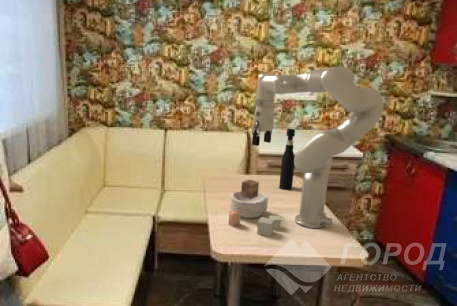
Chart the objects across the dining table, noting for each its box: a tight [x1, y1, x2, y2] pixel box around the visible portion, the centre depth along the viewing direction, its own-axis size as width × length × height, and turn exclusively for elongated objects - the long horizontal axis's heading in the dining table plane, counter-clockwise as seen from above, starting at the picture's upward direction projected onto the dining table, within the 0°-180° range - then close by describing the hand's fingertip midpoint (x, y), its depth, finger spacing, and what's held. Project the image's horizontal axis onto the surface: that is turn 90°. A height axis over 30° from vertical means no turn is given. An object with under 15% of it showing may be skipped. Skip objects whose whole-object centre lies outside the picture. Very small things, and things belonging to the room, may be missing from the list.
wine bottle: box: [278, 128, 296, 191], centre depth 209 cm, size 6×6×30 cm
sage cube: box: [268, 215, 281, 230], centre depth 162 cm, size 4×4×4 cm
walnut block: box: [240, 179, 260, 199], centre depth 172 cm, size 5×5×6 cm
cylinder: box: [228, 209, 241, 228], centre depth 162 cm, size 4×4×5 cm
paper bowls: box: [229, 190, 269, 219], centre depth 173 cm, size 15×15×8 cm
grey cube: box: [256, 216, 275, 237], centre depth 156 cm, size 5×5×5 cm
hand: (261, 143), depth 180 cm, fingers open, 9 cm apart
